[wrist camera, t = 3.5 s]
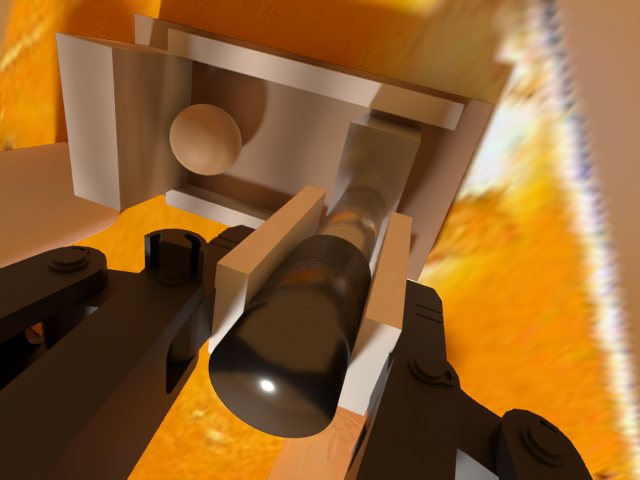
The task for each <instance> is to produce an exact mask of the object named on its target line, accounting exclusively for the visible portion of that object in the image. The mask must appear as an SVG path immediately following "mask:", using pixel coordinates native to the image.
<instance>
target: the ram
mask: <svg viewBox="0 0 640 480" xmlns="http://www.w3.org/2000/svg"><path fill="white" fill-rule="evenodd" d="M421 131H422V128H421V127H417V126H413V125H410V124H406V123H402V122H399V121H395V120H391V119H388V118H384V117H380V116H377V115H373V114H369V113H367V114H365V115H363V116H361V117H359V118H357V119H355V120H353V121H351V122H350V124H349V128H348V132H347V136H346V140H345V144H344V148H343V152H342V156H341V160H340V164H339V168H338V172H337V175H336V179H335V183H334V187H333V191H332V195H331V199H330V203H329V207H328V211H327V215H326V218H325V219H324V220H323V222H322V223H321V224H320V226H319V227H318V228H317V230H316V231H315V232H314V234H313V235H312V236H311V237H309V238H306V239H304V240H303V241H301V242H300V243H299V244H298V245H297V246H296V247H295V248H294V249H293V251H292V252H291V253H290V254H289V256H288V257H287V258H286V259H285V261H284V262H283V263H282V264H281V266H280V267H279V268H278V269H277V271H276V272H275V273H274V274H273V276H272V277H271V278H270V279H269V281H268V282H267V283H266V284H265V286H264V287H263V288H262V289H261V291H260V292H259V293H258V294H257V296H256V297H255V298H254V299H253V301H252V302H251V303H250V304H249V306H248V307H247V308H246V309H245V311H244V312H243V313H242V314H241V316H240V317H239V318H238V319H237V321H236V322H235V323H234V324H233V326H232V327H231V328H230V329H229V331H228V332H227V333H226V335H225V336H224V337H223V338H222V340H221V341H220V342H219V343H218V345H217V346H216V347H215V348H214V350H213V352H212V354H211V356H210V360H209V377H210V380H211V383H212V386H213V388H214V390H215V392H216V394H217V395H218V397H219V398H220V400H221V401H222V402H223V403H224V405H225V406H226V407H227V408H228V409H229V410H230V411H231V412H232V413H233V414H234V415H236V416H237V417H238V418H239V419H241V420H242V421H244V422H245V423H247V424H248V425H250V426H252V427H254V428H256V429H258V430H260V431H262V432H265V433H267V434H271V435H274V436H278V437H283V438H306V437H310V436H313V435H316V434H318V433H320V432H321V431H323V430H324V429H326V428H327V427H328V426H329V425H330V423H331V422H332V420H333V418H334V416H335V413H336V409H337V406H338V402H339V398H340V395H341V391H342V387H343V384H344V380H345V376H346V373H347V369H348V365H349V362H350V357H351V353H352V350H353V346H354V342H355V339H356V335H357V331H358V328H359V324H360V320H361V317H362V313H363V309H364V306H365V302H366V298H367V295H368V291H369V287H370V284H371V271H372V268H373V265H374V262H375V260H376V257H377V254H378V251H379V248H380V245H381V243H382V240H383V237H384V234H385V231H386V228H387V225H388V223H389V220H390V217H391V214H392V211H393V212H396V210H397V207H398V204H399V201H400V198H401V195H402V193H403V190H404V187H405V184H406V181H407V179H408V176H409V173H410V170H411V167H412V165H413V162H414V159H415V156H416V153H417V151H418V148H419V145H420V142H421Z"/></svg>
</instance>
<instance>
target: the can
mask: <svg viewBox="0 0 640 480" xmlns="http://www.w3.org/2000/svg"><path fill="white" fill-rule="evenodd" d="M119 213H120V211H118V210H115V209H113V208H110V207H107V206H104V205H101V204H99V203H96V202H93V201H90V200H87V199H84V198H82V197H79V196H76V195H75V193H74V185H73V176H72V168H71V159H70V151H69V143H68V142H60V143H54V144H48V145H41V146H35V147H29V148H22V149H16V150H10V151H3V152H0V268H2V267H5V266H8V265H11V264H13V263H16V262H19V261H21V260H24V259H27V258H29V257H32V256H35V255H38V254H40V253H43V252H46V251H49V250H52V249H56V248H60V247H68V246H70V245H72V244H74V243H76V242H79V241H81V240H83V239H85V238H88V237H90V236H92V235H94V234H96V233H99V232H101V231H103V230H105V229H107V228H109V227H110V226H111V225H113V224H114V223H115V222H116V220H117V217H118V215H119Z"/></svg>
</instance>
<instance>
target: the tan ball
mask: <svg viewBox="0 0 640 480" xmlns="http://www.w3.org/2000/svg"><path fill="white" fill-rule="evenodd" d="M170 144H171V148H172V150H173V153H174V155H175V156H176V158H177V159H178V161H179V162H180V163H181V164H182V165H183V166H185V167H186V168H187V169H189V170H191V171H193V172H195V173H197V174H201V175H216V174H220V173H223V172H225V171H226V170H228V169H229V168H231V167H232V166H233V165H234V164H235V162H236V161H237V159H238V157H239V155H240V152H241V148H242V137H241V133H240V130H239V127H238V125H237V124H236V122H235V121H234V119H233V118H232V117H231V116H230V115H229V114H228V113H227V112H225V111H224V110H222V109H221V108H219V107H216V106H213V105H209V104H196V105H192V106H189V107H187V108H185V109H184V110H182V111H181V112H180V113H179V114H178V115H177V116H176V118H175V119H174V121H173V123H172V126H171V129H170Z"/></svg>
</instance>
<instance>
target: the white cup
mask: <svg viewBox="0 0 640 480" xmlns="http://www.w3.org/2000/svg"><path fill="white" fill-rule="evenodd" d="M367 411H368V410H366V412H365V414H364V416H362V415H360V414H357V413H355V412H352V411H350V410H347V409H345V408H342V407H340V406H337V409H336V413H335V416H334V418H333V420H332V422H331V423H330V425H329V426H328V427H327V428H326V429H324V430H323V431H321V432H320V433H318V434H316V435H313V436H310V437H306V438H286V439H285V441H284V443H283V446H282V448H281V450H280V452H279V454H278V456H277V458H276V461H275V463H274V465H273V467H272V470H271V472H270V474H269V476H268V479H267V480H344V477H345V474H346V471H347V468H348V465H349V463H350V460H351V457H352V455H351V452H352V450H353V447H354V445H355V443H356V441H357V439H358V436H359V434H360V432H361V430H362V427H363V425H364V423H365V421H366V417H367Z"/></svg>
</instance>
